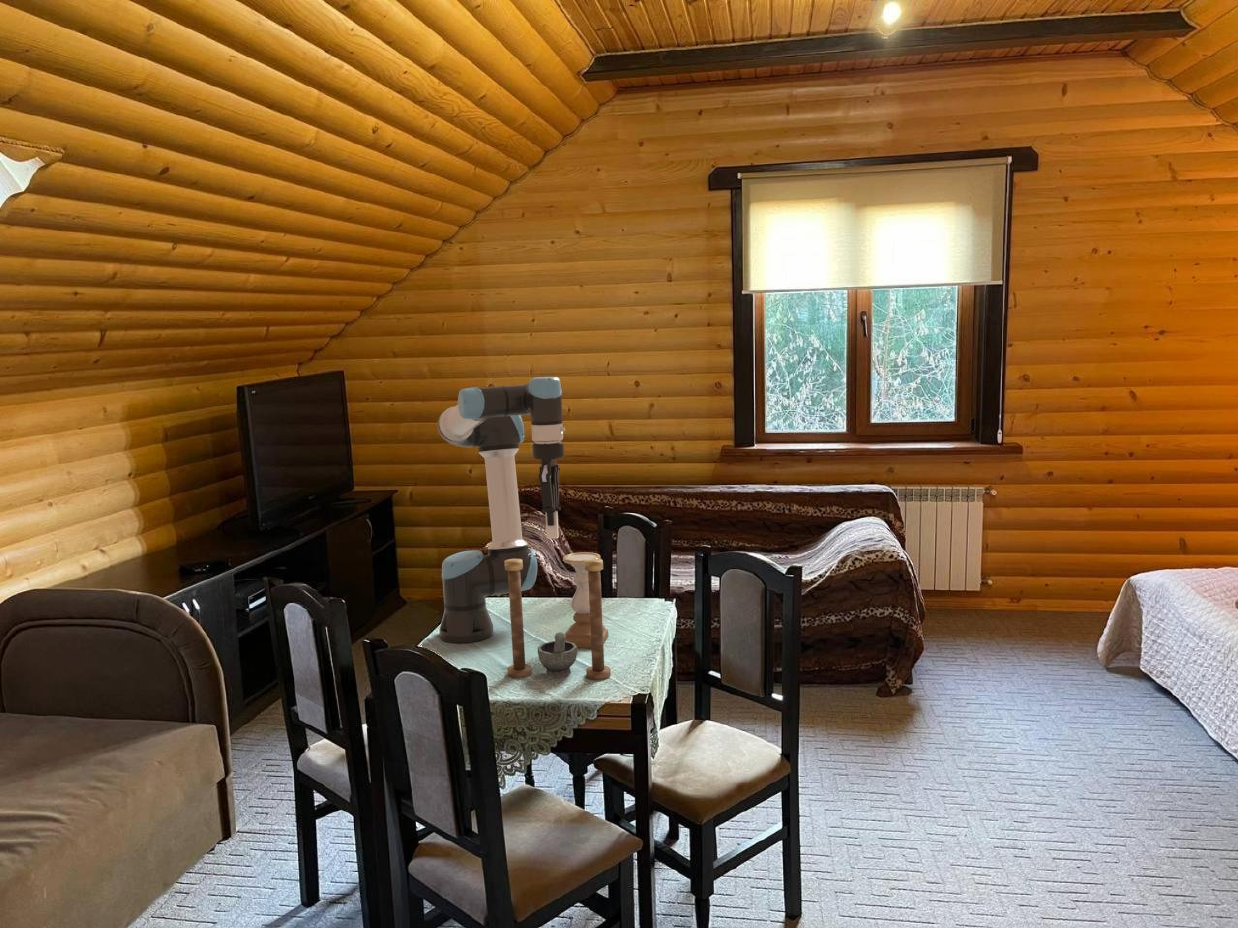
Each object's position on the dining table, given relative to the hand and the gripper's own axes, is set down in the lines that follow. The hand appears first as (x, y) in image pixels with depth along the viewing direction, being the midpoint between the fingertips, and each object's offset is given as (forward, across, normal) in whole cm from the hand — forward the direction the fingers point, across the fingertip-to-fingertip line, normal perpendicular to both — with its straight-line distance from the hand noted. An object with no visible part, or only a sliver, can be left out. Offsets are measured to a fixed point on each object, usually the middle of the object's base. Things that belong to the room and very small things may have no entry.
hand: (552, 537), depth 227 cm
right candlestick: (+35, 0, -10) cm, 36 cm away
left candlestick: (+35, 0, +10) cm, 36 cm away
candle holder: (+35, +25, -2) cm, 43 cm away
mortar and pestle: (+35, 0, 0) cm, 35 cm away
